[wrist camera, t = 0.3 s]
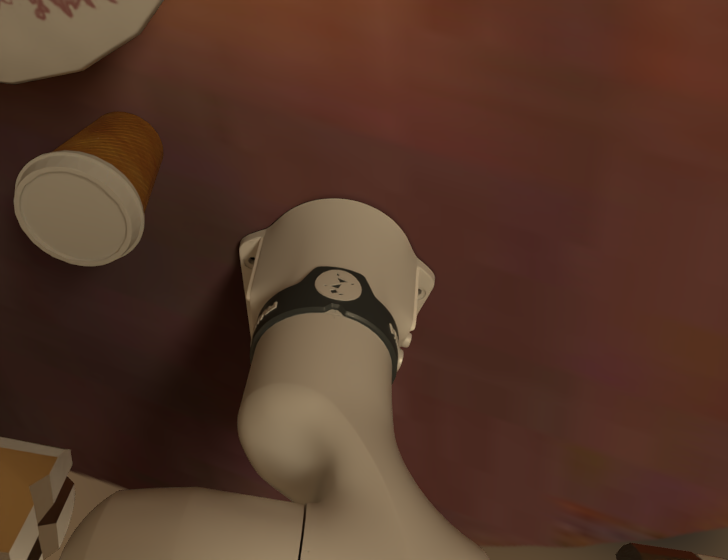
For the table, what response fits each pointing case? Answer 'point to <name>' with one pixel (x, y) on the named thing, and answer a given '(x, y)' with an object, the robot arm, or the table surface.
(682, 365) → the table surface
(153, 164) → the disposable coffee cup
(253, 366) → the robot arm
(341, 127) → the table surface
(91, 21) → the chamber pot
